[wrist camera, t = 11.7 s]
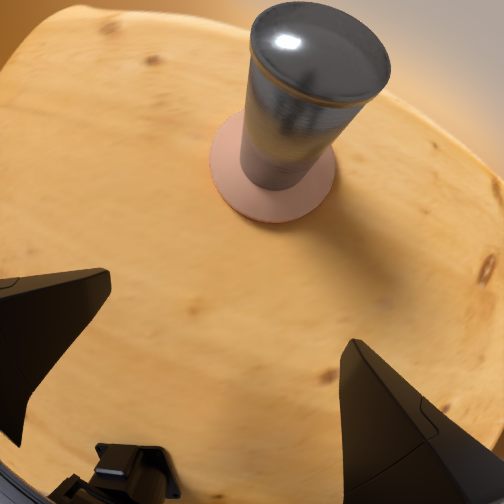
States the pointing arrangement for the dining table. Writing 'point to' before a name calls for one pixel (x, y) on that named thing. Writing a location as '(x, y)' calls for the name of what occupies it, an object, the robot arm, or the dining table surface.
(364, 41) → the canister
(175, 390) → the dining table surface
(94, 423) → the dining table surface
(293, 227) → the dining table surface
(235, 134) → the soap bar
